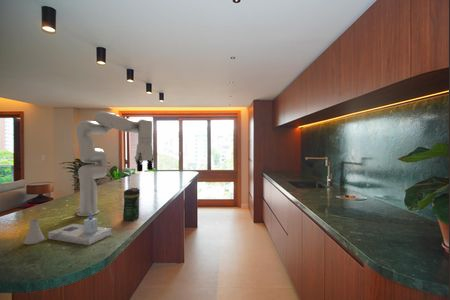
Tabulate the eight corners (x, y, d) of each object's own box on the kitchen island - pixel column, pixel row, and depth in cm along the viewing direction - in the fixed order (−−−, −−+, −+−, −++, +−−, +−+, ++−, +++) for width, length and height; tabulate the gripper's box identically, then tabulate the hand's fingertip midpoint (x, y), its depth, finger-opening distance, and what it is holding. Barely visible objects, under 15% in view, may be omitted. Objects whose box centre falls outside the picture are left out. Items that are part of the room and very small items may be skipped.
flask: (31, 238, 107) (32, 217, 107) (48, 238, 108) (48, 217, 108) (19, 245, 100) (19, 222, 100) (36, 245, 101) (37, 222, 101)
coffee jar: (134, 221, 134) (134, 189, 134) (121, 221, 134) (121, 189, 134) (141, 216, 144) (141, 187, 143) (129, 216, 144) (129, 186, 144)
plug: (83, 239, 107) (83, 213, 107) (90, 236, 111) (90, 211, 111) (91, 240, 106) (91, 214, 106) (98, 237, 110) (98, 212, 110)
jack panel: (48, 238, 108) (48, 230, 108) (73, 229, 120) (73, 222, 120) (88, 245, 101) (89, 237, 101) (111, 234, 113) (111, 227, 113)
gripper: (148, 141, 142) (147, 169, 142) (129, 140, 125) (129, 171, 125) (158, 141, 140) (158, 169, 140) (141, 140, 123) (141, 172, 123)
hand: (144, 170), depth 133 cm, fingers open, 9 cm apart
